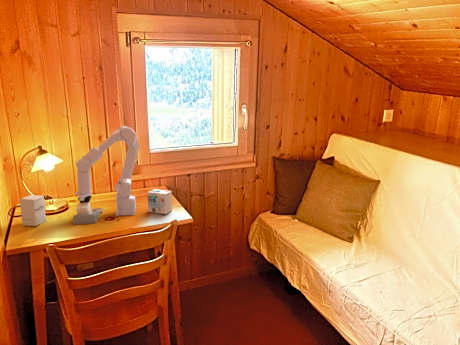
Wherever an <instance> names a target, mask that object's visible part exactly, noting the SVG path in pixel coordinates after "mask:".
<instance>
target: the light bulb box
mask: <svg viewBox="0 0 460 345" xmlns="http://www.w3.org/2000/svg"><path fill="white" fill-rule="evenodd" d="M172 192H173V191H172V190H167V189H166V190H165V189H157V188H153V189H151V190H149V191H148V192H147V208H148V209H147V210H148V213H149V212H150V213H154V214H155V213H157V214H163V215H167V214H169V213H170V212H172V211H173V203H172V202H173V200H172V199H173V198H172V197H173V196H172V194H173V193H172Z"/></svg>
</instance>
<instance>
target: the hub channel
mask: <svg viewBox="0 0 460 345" xmlns="http://www.w3.org/2000/svg"><path fill="white" fill-rule="evenodd" d="M76 213H77V212H76ZM100 214H101V213H100V212H99V209H97V210H96V212H92V214H85V215H78V213H77V214H73V222H72V224H73V225H83V224H87V225H88V224H96V223H97V221H98V220H99V217H100Z"/></svg>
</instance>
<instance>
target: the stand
mask: <svg viewBox="0 0 460 345" xmlns="http://www.w3.org/2000/svg"><path fill="white" fill-rule="evenodd" d="M97 209H99V212H100V214H102V213H103V212H104V210H105V207H93V208H92V207H91V210H92V212H96V210H97Z"/></svg>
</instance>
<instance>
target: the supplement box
mask: <svg viewBox="0 0 460 345" xmlns="http://www.w3.org/2000/svg"><path fill="white" fill-rule="evenodd" d="M19 205H20V213H21V214H20V215H21V216H20V217H21V223H22V224H21V225H23V226H29V227H30V226H31V227H37V226H39V225H40V224H42V223H45V222H47V216H46V214H47V213H46V204H45V196H44V195H35V194H30V195H28V196H24V197H22V198H19Z"/></svg>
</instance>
